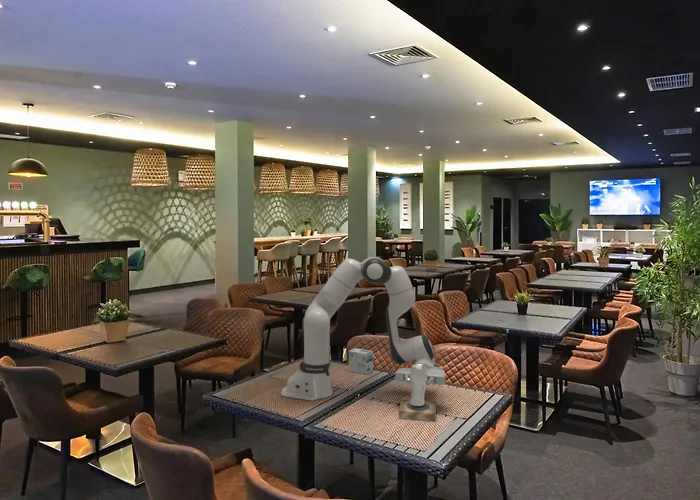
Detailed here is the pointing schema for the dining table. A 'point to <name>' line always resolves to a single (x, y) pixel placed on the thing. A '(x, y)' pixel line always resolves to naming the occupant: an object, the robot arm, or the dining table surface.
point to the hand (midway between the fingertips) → (418, 382)
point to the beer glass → (418, 384)
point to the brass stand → (417, 411)
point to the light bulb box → (360, 361)
